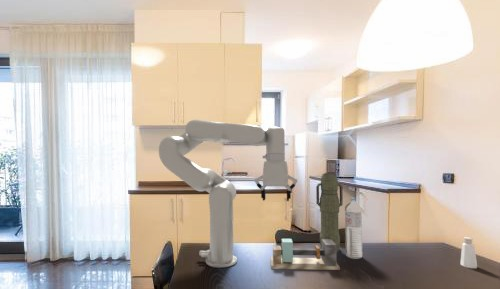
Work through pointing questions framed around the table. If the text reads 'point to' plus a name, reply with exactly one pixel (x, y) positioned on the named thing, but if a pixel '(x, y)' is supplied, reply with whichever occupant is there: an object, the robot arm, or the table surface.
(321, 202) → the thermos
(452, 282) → the table surface
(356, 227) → the water bottle
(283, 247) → the mint green boxy block
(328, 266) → the beige slide rail fixture
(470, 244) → the salt shaker
